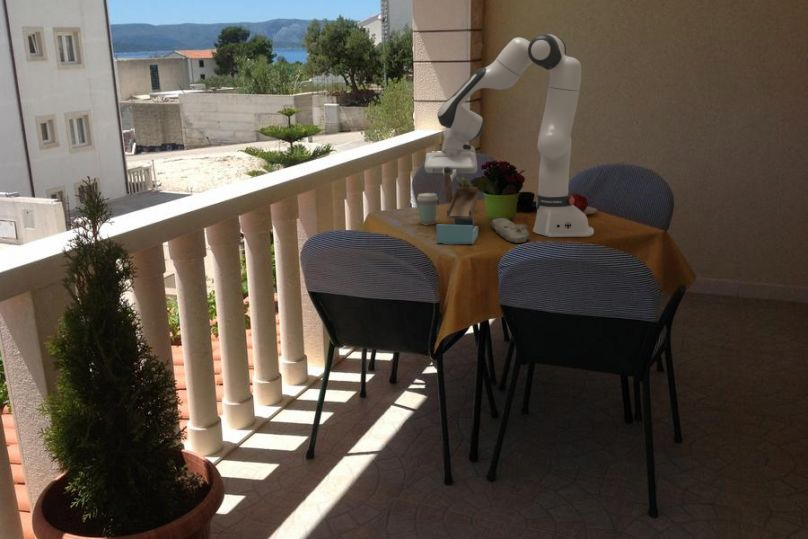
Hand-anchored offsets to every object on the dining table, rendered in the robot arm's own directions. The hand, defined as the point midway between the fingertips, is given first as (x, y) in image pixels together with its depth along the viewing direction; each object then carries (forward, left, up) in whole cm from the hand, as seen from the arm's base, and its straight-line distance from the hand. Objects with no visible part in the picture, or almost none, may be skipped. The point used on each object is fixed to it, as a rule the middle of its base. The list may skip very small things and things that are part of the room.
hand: (448, 180), depth 277 cm
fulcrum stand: (-6, -1, -20) cm, 21 cm away
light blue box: (-6, +13, -20) cm, 25 cm away
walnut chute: (-5, 0, -12) cm, 13 cm away
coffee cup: (+11, -13, -20) cm, 27 cm away
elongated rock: (-23, 0, -20) cm, 31 cm away
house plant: (+1, -38, -20) cm, 43 cm away
